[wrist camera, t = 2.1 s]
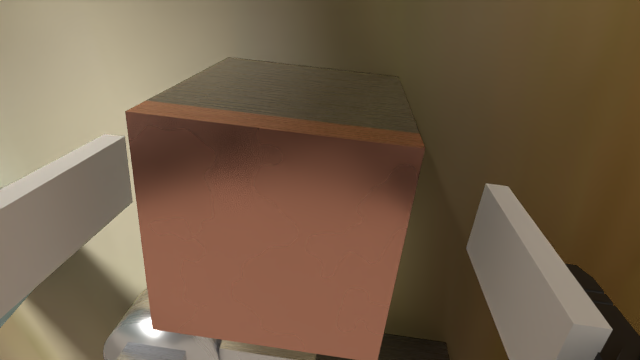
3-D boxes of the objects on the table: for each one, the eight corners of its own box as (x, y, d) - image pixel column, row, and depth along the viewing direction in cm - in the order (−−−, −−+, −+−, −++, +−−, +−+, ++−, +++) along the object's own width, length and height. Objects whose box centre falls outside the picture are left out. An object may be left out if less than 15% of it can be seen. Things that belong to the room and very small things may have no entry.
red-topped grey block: (229, 204, 20) (152, 329, 12) (228, 57, 17) (125, 111, 9) (372, 223, 19) (377, 362, 12) (398, 76, 16) (425, 148, 9)
